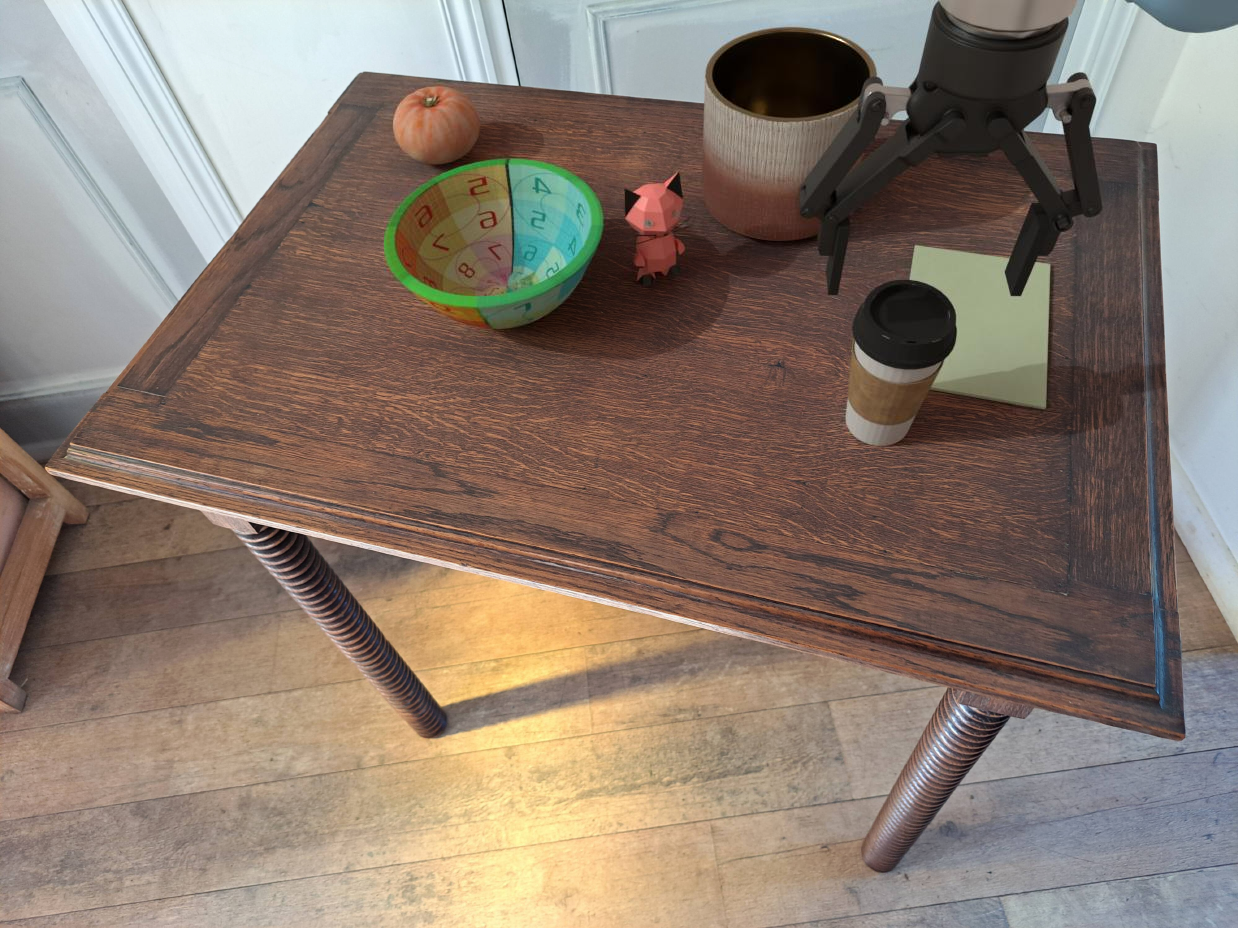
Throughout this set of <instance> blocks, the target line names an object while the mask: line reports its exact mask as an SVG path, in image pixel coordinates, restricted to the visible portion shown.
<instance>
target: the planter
mask: <svg viewBox="0 0 1238 928" xmlns="http://www.w3.org/2000/svg"><path fill="white" fill-rule="evenodd" d="M877 71H878V70H877V67H876V64H875V62H874V60H873V58H872V57H871V56H870V55H869V53H868V52H867V51H866V50H865V49H864V48H863V47H861V46H860V45H858V44H857V43H856V42H854V41H852V40H850V39H849V38H847V37H844V36H842V35H839V34H837V33H834V32H831V31H827V30H823V29H818V28H811V27H803V26H781V27H770V28H764V29H759V30H755V31H751V32H748V33H745V34H743V35H740V36H738V37H735V38H733V39H732V40H730V41H728V42H726V43H725V44H723V45H722V46H721V47H719V49H717V50H716V51H715V52H714V53H713V54H712V56H711V57H710V59H709V61H708V62H707V65H706V67H705V71H704V97H703V98H704V100H703V131H702V132H703V133H702V159H701V192H702V193H701V194H702V199H703V202H704V205H705V207H706V209H707V210H708V211H709V213H710V215H711V216H712V217H713V218H714V219H715V220H716V221H717V222H719V224H721V225H722V226H724V227H725V228H727V229H729V230H731V231H733V232H735V233H737V234H740V235H741V236H744V237H747V238H751V239H755V240H761V241H767V242H790V241H791V242H793V241H799V240H804V239H807V238H812V237H815V236H818V231H819V224H820V219H819V218H817V217H812V218H803V217H802V216H801V215H800V209H799V191H798V190H799V187H800V186H801V184H802V183H803V182H804V180H805V179H806V178H807V176H808V175H809V173H810V172H811V171H812V169H813V168H814V166H815V165H816V164H817V162H818V161H819V160H820V158H821V157H822V155H823V154H824V153H825V151H826V150H827V148H828V147H829V146H830V144H831V143H832V142H833V140H834V139H835V137H836V136H837V135H838V133H839V132H840V131H841V129H842V128H843V126H844V125H845V124H846V122H847V121H848V119H849V118H850V117H851V115H852V114H853V113H854V111H855V110H856V108H857V105H858V102H859V99H860V95H861V92H862V89H863V85H864V83H865V81H866V80H867V79H868V78H871V77H878V72H877ZM864 153H865V151H864V152H863V154H862V155H861V156H860V158H859V159H858V160H857V162H856V163H855V164H854V165H853V167H852V168H851V169H850V171H852V170H853V169H854V168H855V167H856V166H858V165H859V164H860V163H861V162H862V161H863V160H864ZM850 171H849V172H850ZM849 172H848V173H849ZM848 173H847V174H848Z"/></svg>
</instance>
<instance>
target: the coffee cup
mask: <svg viewBox="0 0 1238 928" xmlns="http://www.w3.org/2000/svg"><path fill="white" fill-rule="evenodd" d="M851 331H852V337H853V339H852V344H851V354H850V365H849V376H848V388H847V402H846V410H845V424H846V427H847V429H848V430H849V432H850V433H851V434H852V436H853V437H854V438H856V439H857V440H858V441H861V442H862V443H864V444H867V445H869V446H876V447H886V446H891V445H894V444H897V443H898V442H900V441H901V440H903V439H904V438H905V436H907V434H908V432H909V430H910V429H911V426H912V424H913V422H914V420H915V418H916V416H917V414H918V413H919V410H920V409H921V408H922V405H923V403H924V402H925V400H926V398H927V396H928V394H929V392H930V391H931V390H930V388H931V386H932V385H933V383H934V381H935V379H936V377H937V375H938V373H939V371H940V370H941V368H942V366H943V363H944V360H945V358H947V357H948V356H949V355H950V353H951V352H952V350H953V349H954V346H955V343H956V338H957V327H956V312H955V309H954V307H953V305H952V303H951V301H950V300H949V299H948V298H947V296H946V295H944V294H943V293H942V292H941V291H940V290H938V289H936V288H935V287H933V286H931V285H929V284H926V283H923V282H920V281H915V280H909V279H894V280H890V281H885V282H884V283H880V284H879V285H878V286H876V287H875V288H873V289H872V290H871V291H870V292H869V293H868V294H867V296H866V298H865V299H864V301H863V302H862V304H861V305H860V306H859V308H858V309H857V310H856V313H855V316H854V318H853V320H852V326H851Z"/></svg>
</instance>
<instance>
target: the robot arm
mask: <svg viewBox="0 0 1238 928" xmlns="http://www.w3.org/2000/svg"><path fill="white" fill-rule="evenodd" d="M1124 1H1125V2H1126V3H1127V4H1129V3H1130V4H1131V3H1133V4H1135V5H1136V6H1137V7H1139V8H1140V9H1141V10H1143V11H1144V12H1145V13H1146V14H1148V15H1150V17H1152V18H1154V20H1156V21H1157V22H1159V23H1160V25H1161V24H1162V25H1163V26H1164V27H1167V28H1169V29H1171V30H1174V31H1178V32H1182V33H1190V34H1205V33H1212V32H1218V31H1221V30H1225V29H1228V28H1231V27H1235V26H1237V25H1238V0H1124ZM1078 2H1079V0H937V2H935V4H934V5H933V8H932V11H931V15H930V18H929V19H930V20H929V24H928V27H927V28H928V29H927V33H926V37H925V42H924V46H923V51H922V55H921V59H920V65H919V67H918V68H919V69H918V72H917V74H916V77H915V78H914V80H913V81H912V82H911V84H910V85H909V86H908V87H900V86H889V85H884V82H883V80H882V78H881V77H879V76H877V77H871V78H868V79H867V80H866V81H865V83H864V85H863V89H862V92H861V95H860V99H859V102H858V105H857V108H856V110H855V111H854V113H853V114H852V115H851V117H850V118H849V119H848V121H847V122H846V124H845V125H844V126H843V128H842V129H841V131H840V132H839V133H838V135H837V136H836V137H835V139H834V140H833V142H832V143H831V144H830V146H829V147H828V148H827V150H826V151H825V153H824V154H823V155H822V157H821V158H820V160H819V161H818V162H817V164H816V165H815V166H814V168H813V169H812V171H811V172H810V173H809V175H808V176H807V178H806V179H805V180H804V182H803V183H802V184H801V186H800V187H799V190H798V191H799V209H800V215H801V216H802V217H803V218H812V217H817V218H819V219H820V224H819V231H818V235H817V239H816V240H817V250H818V254H819V257H820V256H821V257H827V258H828V259H827V262H826V267H825V268H826V269H825V275H826V276H825V277H826V287H827V295H828V296H839V290H840V286H841V281H842V275H843V270H844V265H845V260H846V253H847V250H848V244H849V237H850V233H851V220H850V215H851V214H853V212H855V211H856V210H857V209H859V208H860V207H861V206H863V205H864V204H865V203H866V202H867V201H869V200H870V199H871V198H873V197H874V196H875V195H877V193H878V192H880V191H881V190H882V189H883V188H885V187H886V186H887V185H888V184H890V183H891V182H892V181H894V180H895V179H896V178H897V177H899V176H900V175H901V174H902V173H904V172H905V171H906V170H907V169H908V168H916V167H917V166H919V165H920V164H922V163H923V162H924V161H925V160H927V159H928V158H929V157H930V156H932V155H933V154H936V155H937V157H938V159H952V158H955V157H956V158H957V157H961V156H968V157H971V158H989V155H990V154H992V153H995V152H997V151H999V150H1001V151H1002V152H1003V154H1004V156H1005V157H1006V158H1007V160H1008V162H1009V163H1010V165H1011V166H1012V167H1014V168H1015V169H1016V171H1017V172H1018V174H1019V175H1020V176H1021V178H1022V180H1023V181H1024V182H1025V184H1026V186H1027V187H1028V188H1029V190H1030V192H1031V193H1032V194H1033V196H1034V197H1035V199H1036V200H1037V202H1031V203H1030V206H1029V208H1028V210H1027V213H1026V216H1025V218H1024V221H1023V223H1022V226H1021V228H1020V231H1019V233H1018V236H1017V239H1016V241H1015V244H1014V246H1013V249H1012V252H1011V254H1010V256H1009V258H1010V259H1009V261H1008V264H1007V267H1006V269H1005V276H1006V280H1007V284H1008V288H1009V292H1010V295H1011V296H1021V295H1022V293H1023V290H1024V288H1025V286H1026V283H1027V281H1028V279H1029V276H1030V274H1031V272H1032V269H1033V267H1034V265H1035V262H1037V260H1038V257H1048V256H1049V255H1050V254H1051V253H1052V252H1053V251H1054V248H1055V247H1056V244H1057V242H1058V239H1059V238H1060V235H1061V233H1065V232H1068V231H1070V230H1072V228H1073V226H1074V219H1073V218H1074V217H1078V216H1082V215H1083V216H1084V217H1085V218H1094V217H1096V216H1098V215H1099V214H1100V213H1101V212H1102V211H1103V201H1102V196H1101V191H1100V184H1099V177H1098V172H1097V165H1096V160H1095V153H1094V147H1093V140H1092V135H1091V129H1090V128H1091V127H1090V125H1091V122H1092V118H1093V115H1094V112H1095V109H1096V104H1097V96H1096V94H1095V91H1094V88H1093V86H1092V84H1091V81H1090V79H1089V77H1088V75H1087V74H1086V73H1085V72H1083V71H1078V72H1075V73H1073V74H1071V75H1070V76H1068V78H1067V80H1066V82H1063V83H1054V84H1048V81H1049V79H1050V77H1051V75H1052V73H1053V70H1054V67H1055V65H1056V61H1057V59H1058V56H1059V53H1060V51H1061V47H1062V45H1063V42H1064V39H1065V36H1066V34H1067V32H1068V28H1069V23H1070V22H1069V21H1070V20H1069V19H1070V18H1069V16H1070V15H1072V14H1073V12H1074V11H1075V9H1076V7H1077V4H1078ZM1046 109H1050V110H1051V112H1052V114H1053V117H1054V119H1055V120H1056V121H1058V122H1061V126H1062V130H1063V136H1064V141H1065V146H1066V151H1067V156H1068V162H1069V167H1070V171H1071V172H1070V173H1071V179H1072V182H1073V183H1072V184H1073V189H1069V190H1064V191H1063V189H1062V187H1061V186H1060V184H1059V183H1058V181H1057V179H1056V177H1054V174H1053V173H1052V172H1051V170H1050V168H1049V167H1048V166H1047V163H1045V160H1044V159H1043V157H1042V156H1041V154H1040V153H1039V152H1038V150H1037V148H1036V147H1035V145H1034V144H1033V142H1032V141H1031V139H1030V137H1029V136H1028V134H1027V133H1026V131H1025V129H1026V128H1027V127H1028V126H1030V125H1031V124H1032V123H1033V122H1034V121H1035V120H1037V118H1039V117H1040V116H1041V115H1042V114H1043V113H1044V112H1045V111H1046ZM903 111H905V112H906V115H907V117H906V119H904V120H903V121H902V122H901V123H899V124H898V125H897V128H896V129H895V132H894V133H893V135H892V136H891V137H890V138H888V139H887V140H886V141H884V142H883V143H881V145H880V146H878V148H876V149H875V150H874V151H873V152H871V153H870V154H869V155H868V156H867V157H866V158H864V159H862V162H861V163H860V164H859V165H858V166H856V167H855V168H854V169H853V170H852V171H850V169H851V168H852V167H853V165H854V164H855V163H856V162H857V160H858V159H859V158H860V156H861V155H862V154H863V152H864V153H865V151H866V150H867V149H868V147H869V146H870V145H871V144H872V142H873V141H874V140H875V137H876V136H877V133H879V129H880V127H886V126H888V125H889V123H890V121H891V120H892V119H893V117H894V116H895V115H896V114H897V113H899V112H903ZM918 137H920V138H918ZM863 155H864V154H863ZM849 171H850V172H849ZM848 172H849V173H848ZM847 173H848V174H847Z"/></svg>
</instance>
